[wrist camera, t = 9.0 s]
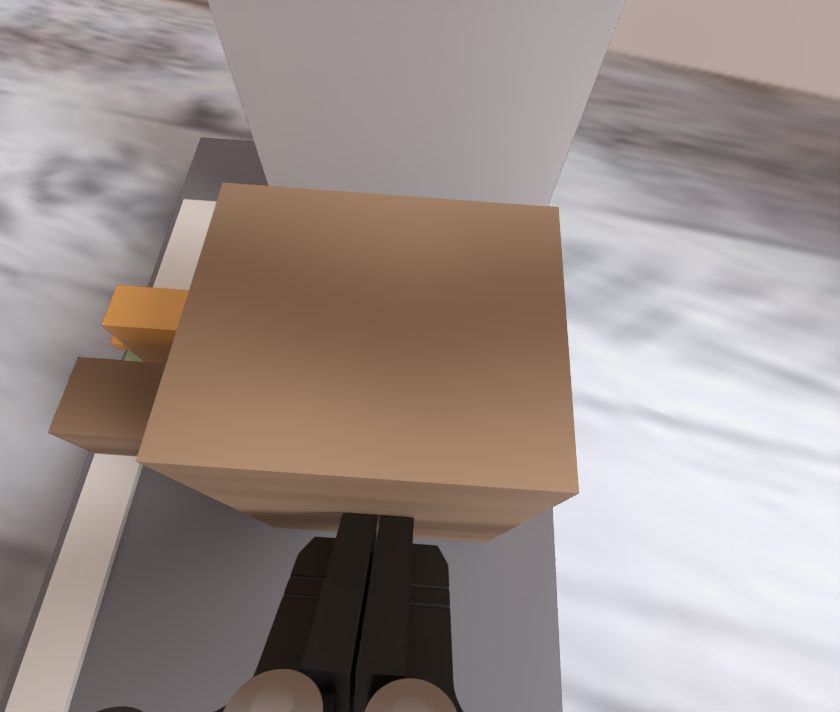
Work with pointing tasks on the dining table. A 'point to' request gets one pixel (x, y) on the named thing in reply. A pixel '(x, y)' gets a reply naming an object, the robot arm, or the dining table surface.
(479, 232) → the brown block
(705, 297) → the dining table surface
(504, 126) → the gauge base
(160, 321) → the pointer
